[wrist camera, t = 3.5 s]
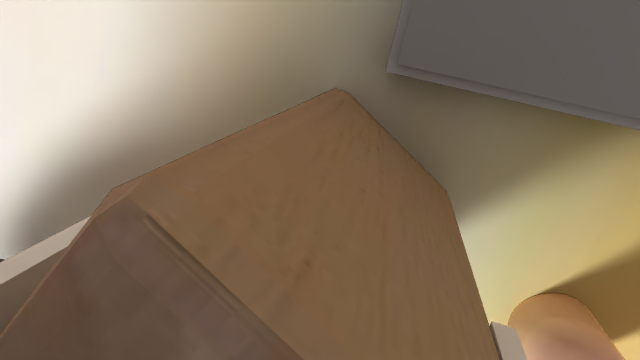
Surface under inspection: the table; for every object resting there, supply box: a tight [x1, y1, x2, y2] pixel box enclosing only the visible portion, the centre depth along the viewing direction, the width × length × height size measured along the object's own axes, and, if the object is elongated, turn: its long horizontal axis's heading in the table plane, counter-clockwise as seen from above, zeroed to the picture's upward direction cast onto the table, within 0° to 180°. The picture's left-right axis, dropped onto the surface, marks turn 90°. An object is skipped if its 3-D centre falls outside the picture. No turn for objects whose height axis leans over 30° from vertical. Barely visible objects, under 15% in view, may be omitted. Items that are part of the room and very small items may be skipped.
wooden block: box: [0, 88, 500, 360], centre depth 17 cm, size 10×10×20 cm
